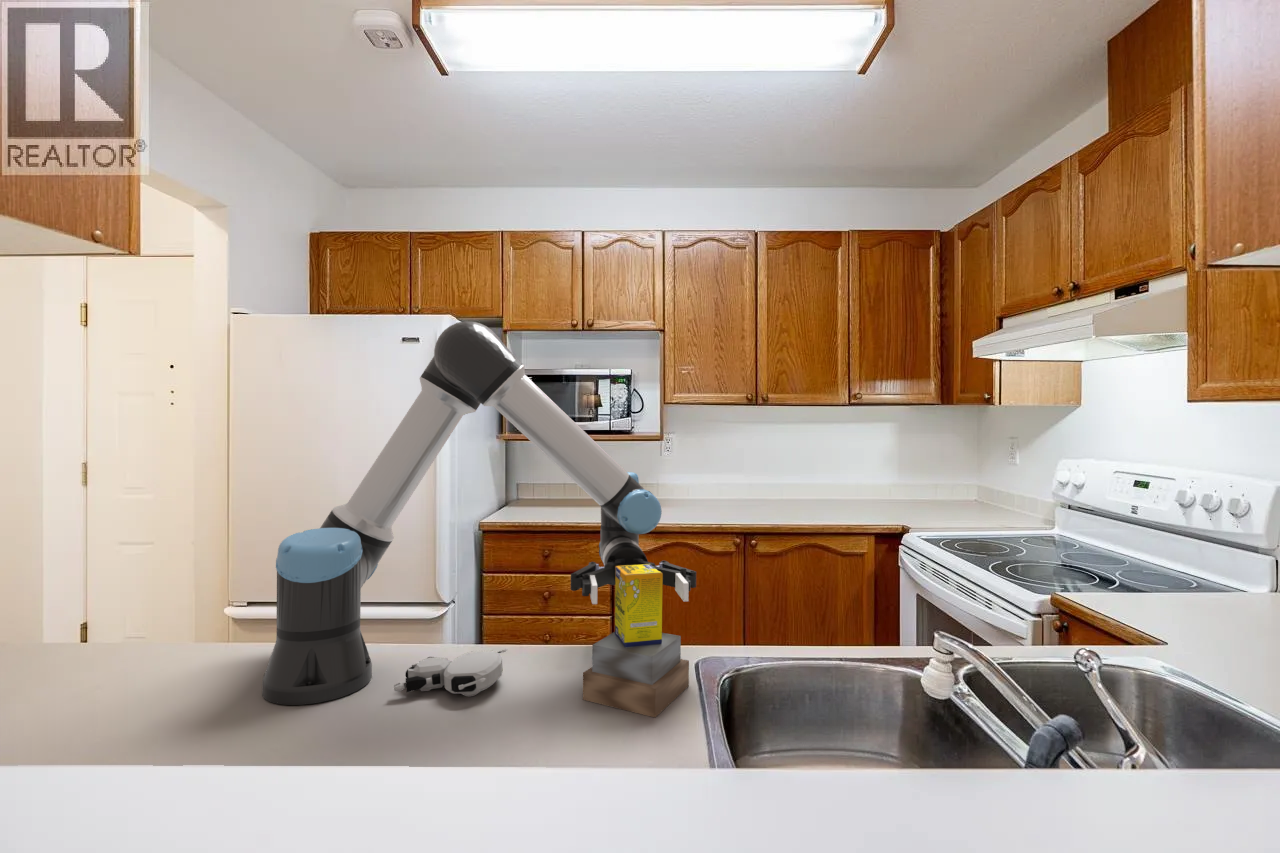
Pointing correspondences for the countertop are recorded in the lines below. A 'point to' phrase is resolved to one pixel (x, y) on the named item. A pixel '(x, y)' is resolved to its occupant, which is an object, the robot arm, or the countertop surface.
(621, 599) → the supplement box
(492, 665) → the robot toy
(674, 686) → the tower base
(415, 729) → the countertop surface
